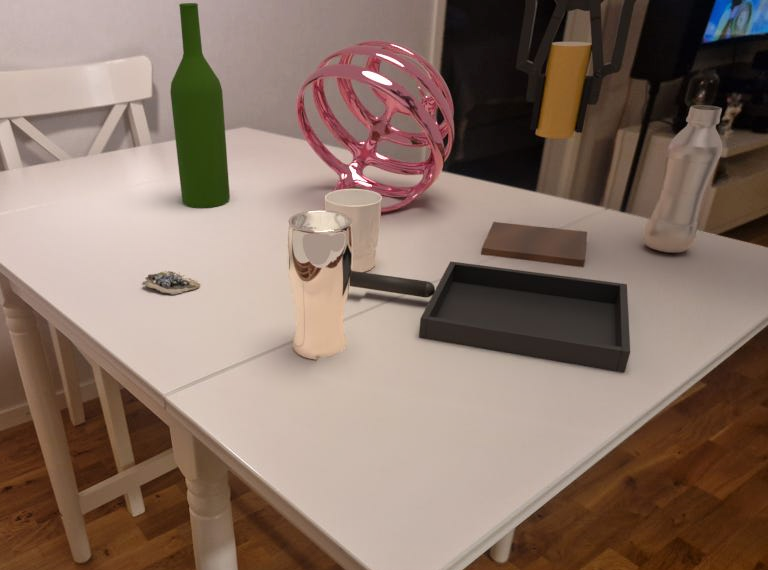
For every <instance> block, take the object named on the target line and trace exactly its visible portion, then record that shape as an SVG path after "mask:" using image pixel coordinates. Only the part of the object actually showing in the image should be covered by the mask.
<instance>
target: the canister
mask: <svg viewBox="0 0 768 570" xmlns="http://www.w3.org/2000/svg"><path fill="white" fill-rule="evenodd" d="M591 58H592V42H586V41H553V42H552V44H551V46H550V49H549V52H548V54H547V63H546V68H545V73H544V74H545V80H544V86H543V92H542V98H541V104H540V110H539V116H538V122H537V128H536V130H535V136H538V137H540V138H545V139H554V140H556V139H557V140H562V139H565V140H566V139H571V138H574V137H575V136H576V133H577V132H576V128H577V123H578V118H579V113H580V108H581V103H582V98H583V93H584V88H585V82H586V77H587V76H588V73H589V67H590V63H591Z"/></svg>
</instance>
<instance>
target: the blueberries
mask: <svg viewBox="0 0 768 570" xmlns="http://www.w3.org/2000/svg"><path fill="white" fill-rule="evenodd" d="M185 276H186V274H184V275H182V274H180V271H178V272H177V273H176V272H173V271H170V270H168V271H160V272H157V273H150V274H147V277H145V280H146V281H142V283H141V286H145V287H147V288H150V289H155V290H156V291H159V292H160V293H163V294H170V295H172V296H173V295H178V294H183V292H184V293H186V292H188V291H193V290H197V289H199V288H200V287H201V283H200V282H199V280H197V279H192V278H190V277H189V278H185Z"/></svg>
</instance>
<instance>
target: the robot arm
mask: <svg viewBox="0 0 768 570" xmlns="http://www.w3.org/2000/svg"><path fill="white" fill-rule="evenodd" d="M636 1H637V0H623V1H622V4H621V8H620V9H621V10H620V14H619V19H618V24H617V29H616V34H615V39H614V44H613V50H612V55H611V59H610V61H609V62H607V63H605V60H604V59H605V58H604V41H603V21H602V4H603V2H605V0H554V2H555V4H556V5H555V8H554V11H553V12H552V14H551V18H550V20H549V22H548V25H547V28H546V29H545V32H544V35H543V37H542V39H541V42H540V44H539V47H538V49H537V52H536V54H535V56H534V60H533V61H531V60H529V58H530V57H529V56H530V51H531V46H532V45H531V44H532V39H533V34H534V33H533V32H534V26H535V21H536V15H537V8H538V0H524V3H525V5H524V6H525V7H524V11H523V12H524V13H523V18H522V26H521V31H520V38H519V43H518V44H519V45H518V49H517V55H516V56H517V57H516V62H515V67H516V69H517V70H518V71H521V72H524V73H526V74H527V75H528V83H527V89H526V95H525V99H526V102H527V103H533V108H532V113H531V119H530V125H529V130H530V131H536V128H537V122H538V116H539V110H540V104H541V98H542V92H543V86H544V80H545V73H541V72H542V68H543V67H544V63H545V61H546V59H547V57H548V55H549V49H550V46H551V44H552V43H554V39H555V37H556V34H557V33H558V30H559V27H560V25H561V24H562V23H561V22H562V21H563V18H564V16H565V13H566V12H572V11H575V10H580V11H583V12H589V21H590V24H589V25H590V39H591V43H592V53H591V58H592V75H587V77H586V82H585V88H584V93H583V98H582V103H581V108H580V113H579V118H578V123H577V128H576V133H577V134H578V133H581V134H583V129H584V124H585V120H586V114H587V110H588V106H589V105H591V106H592V105H593V106H596V105H597V103H598V102H599V100H600V99H599V98H600V93H601V90H602V85H603V80H604V78H605V77H606V76H609V75H611V74H616V73H619V72H620V71H621V69H622V66H623V61H624V56H625V50H626V46H627V41H628V36H629V32H630V27H631V21H632V17H633V12H634V8H635V4H636V3H637V2H636Z"/></svg>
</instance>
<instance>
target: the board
mask: <svg viewBox="0 0 768 570" xmlns="http://www.w3.org/2000/svg"><path fill="white" fill-rule="evenodd" d="M587 240H588V231H583V230H575V229H574V230H573V229H566V228H565V229H563V228H556V227H555V228H554V227H546V226H545V227H544V226H536V225H526V224H517V223H509V222H508V223H507V222H498V221H493V222H492V224H491V226H490V229H489V231H488V233H487V235H486V238H485V240H484V242H483V244H482V246H481V250H480V251H481V252H480V255H482V256H489V257H499V258H504V259H505V258H506V259H512V260H513V259H515V260H522V261H531V262H539V263H546V264H554V265H555V264H556V265H563V266H570V267H571V266H572V267H579V268H584V266H585V262H586V252H587Z"/></svg>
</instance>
